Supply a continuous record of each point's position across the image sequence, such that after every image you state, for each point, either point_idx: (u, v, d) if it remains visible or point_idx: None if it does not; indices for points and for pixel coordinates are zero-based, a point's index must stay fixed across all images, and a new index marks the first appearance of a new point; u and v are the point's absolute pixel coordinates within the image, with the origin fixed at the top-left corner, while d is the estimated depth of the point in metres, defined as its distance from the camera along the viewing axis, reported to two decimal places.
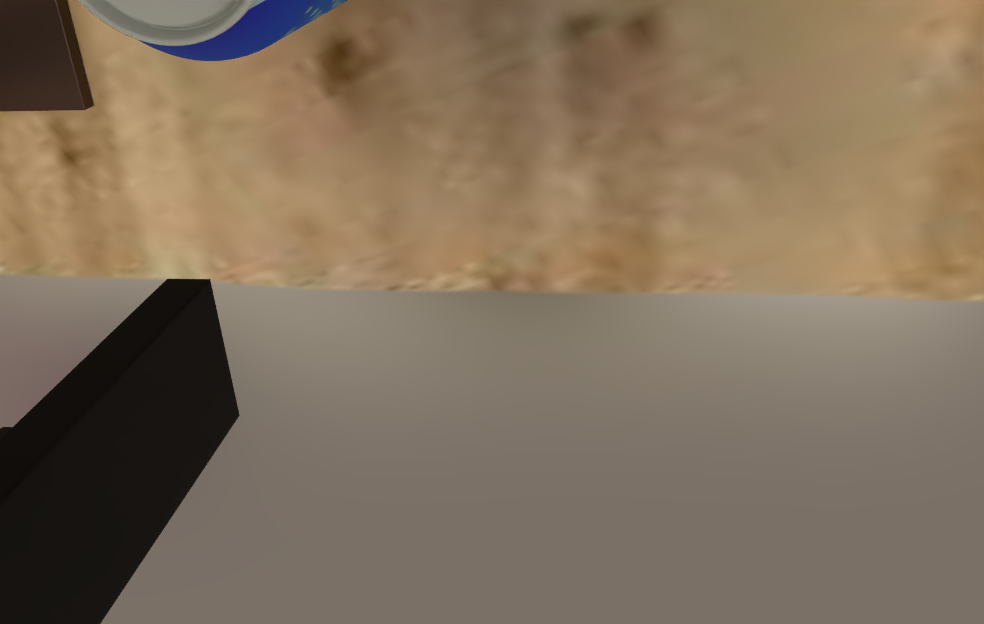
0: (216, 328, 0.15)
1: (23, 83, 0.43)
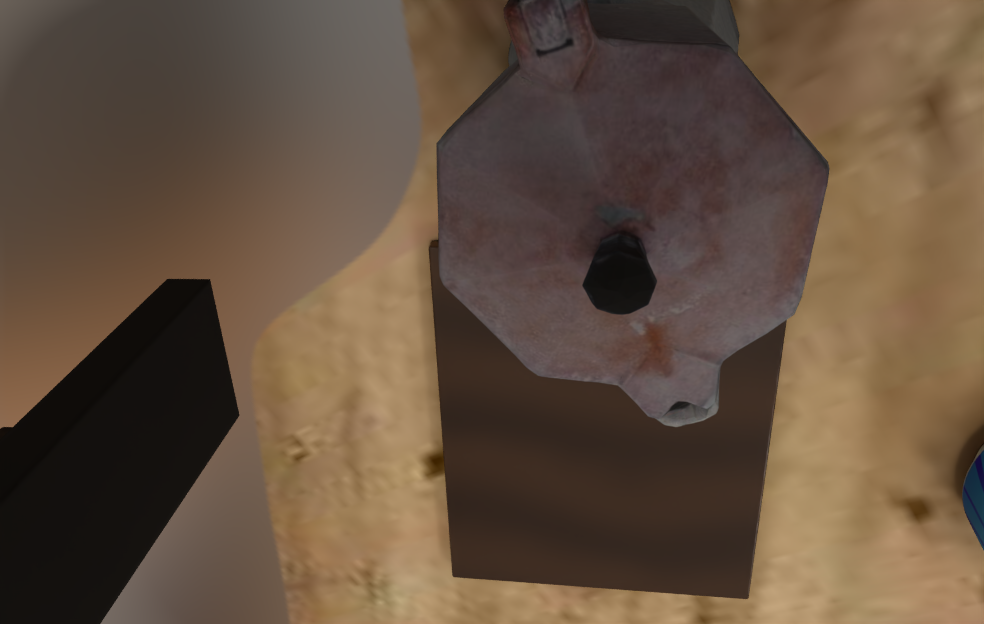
0: (216, 329, 0.15)
1: (695, 577, 0.47)
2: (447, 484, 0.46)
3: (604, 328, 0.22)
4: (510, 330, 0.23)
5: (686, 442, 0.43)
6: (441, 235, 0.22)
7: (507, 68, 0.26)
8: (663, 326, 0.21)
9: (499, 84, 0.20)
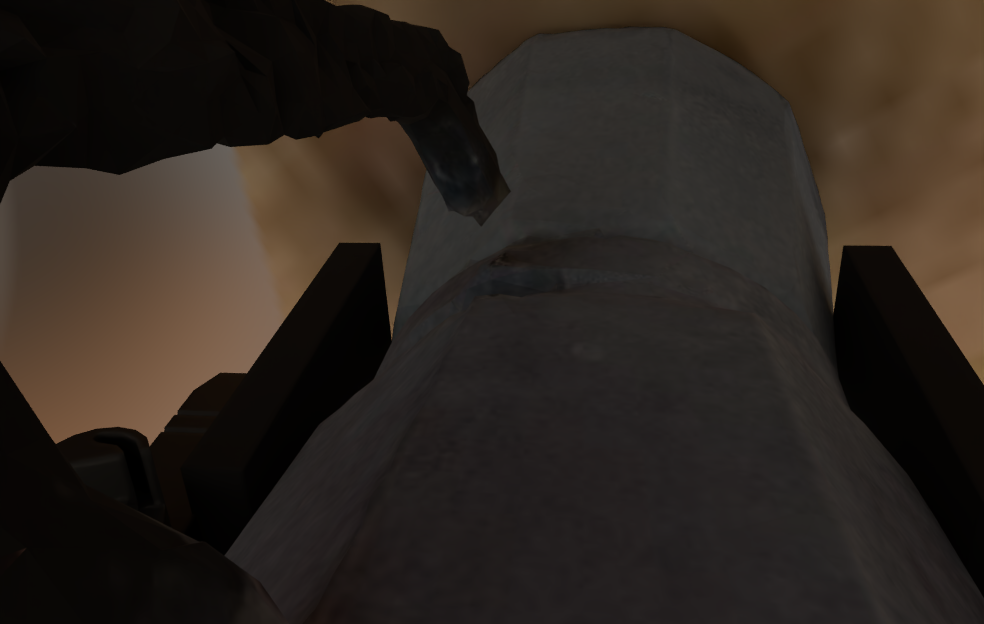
0: (383, 289, 0.16)
1: None
2: None
3: None
4: None
5: None
6: None
7: (316, 437, 0.11)
8: None
9: None
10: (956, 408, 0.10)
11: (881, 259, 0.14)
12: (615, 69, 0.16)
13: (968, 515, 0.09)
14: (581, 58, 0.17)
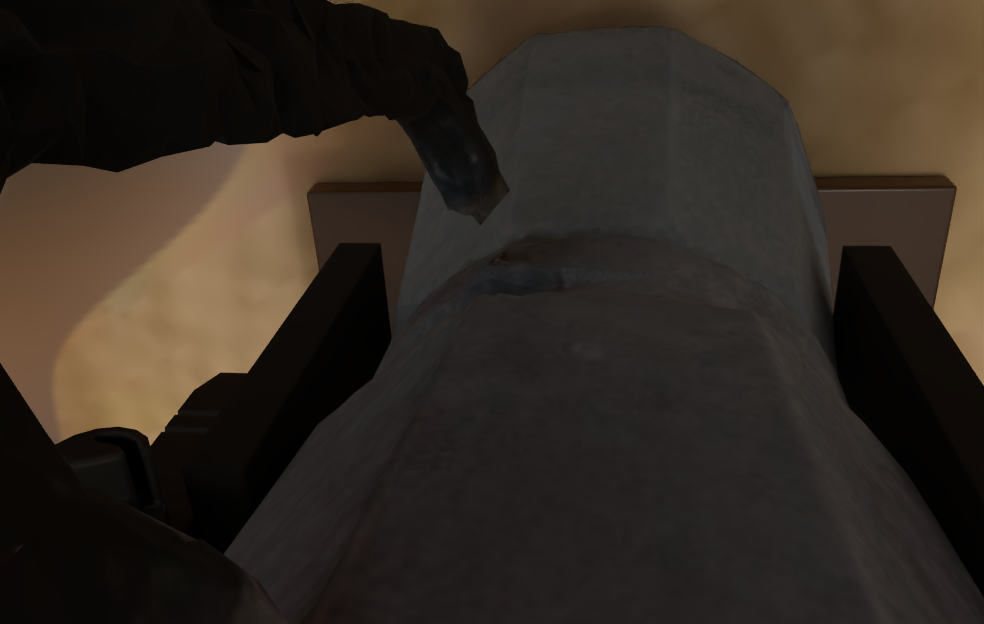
0: (383, 289, 0.16)
1: None
2: None
3: None
4: None
5: None
6: None
7: (315, 437, 0.11)
8: None
9: None
10: (956, 408, 0.10)
11: (881, 259, 0.14)
12: (615, 69, 0.16)
13: (967, 515, 0.09)
14: (581, 58, 0.17)
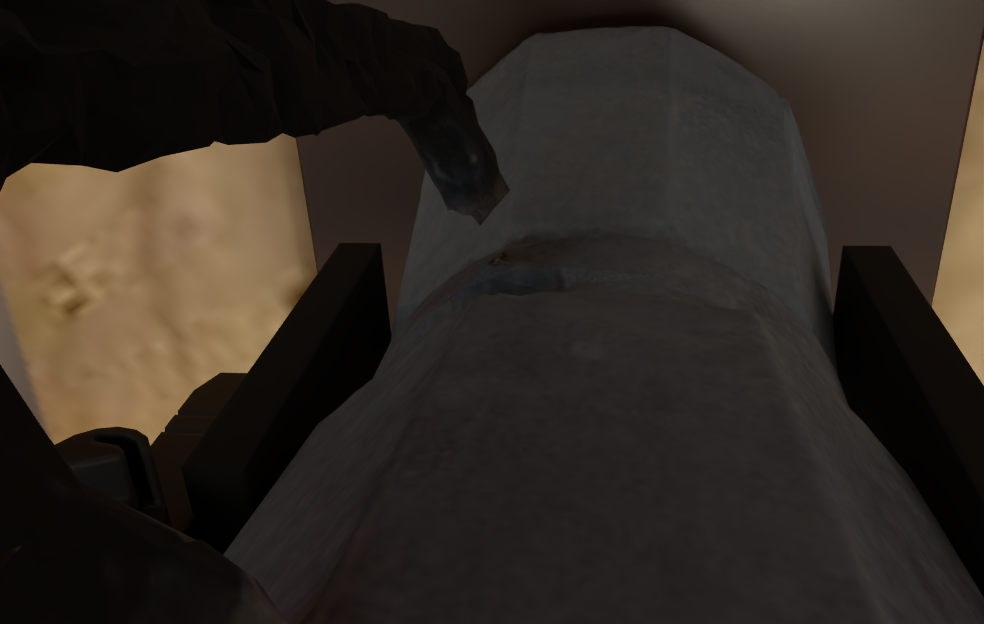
0: (384, 289, 0.16)
1: None
2: None
3: None
4: None
5: None
6: None
7: (315, 437, 0.11)
8: None
9: None
10: (955, 408, 0.10)
11: (880, 259, 0.14)
12: (614, 68, 0.16)
13: (967, 515, 0.09)
14: (581, 57, 0.17)
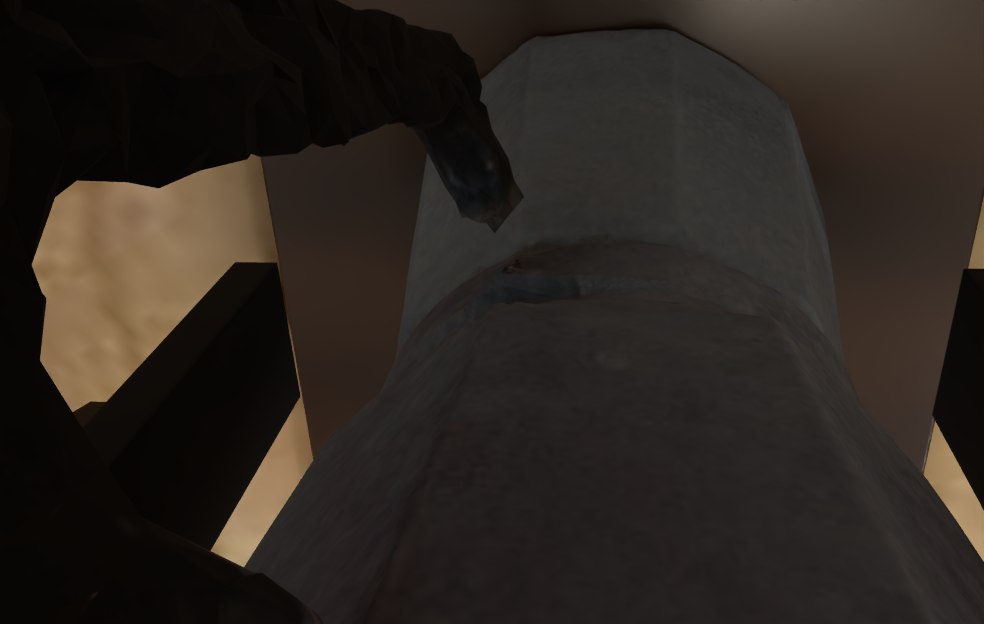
0: (281, 310, 0.15)
1: None
2: (295, 339, 0.23)
3: None
4: None
5: None
6: None
7: (328, 449, 0.11)
8: None
9: None
10: None
11: None
12: (616, 72, 0.16)
13: None
14: (581, 61, 0.17)
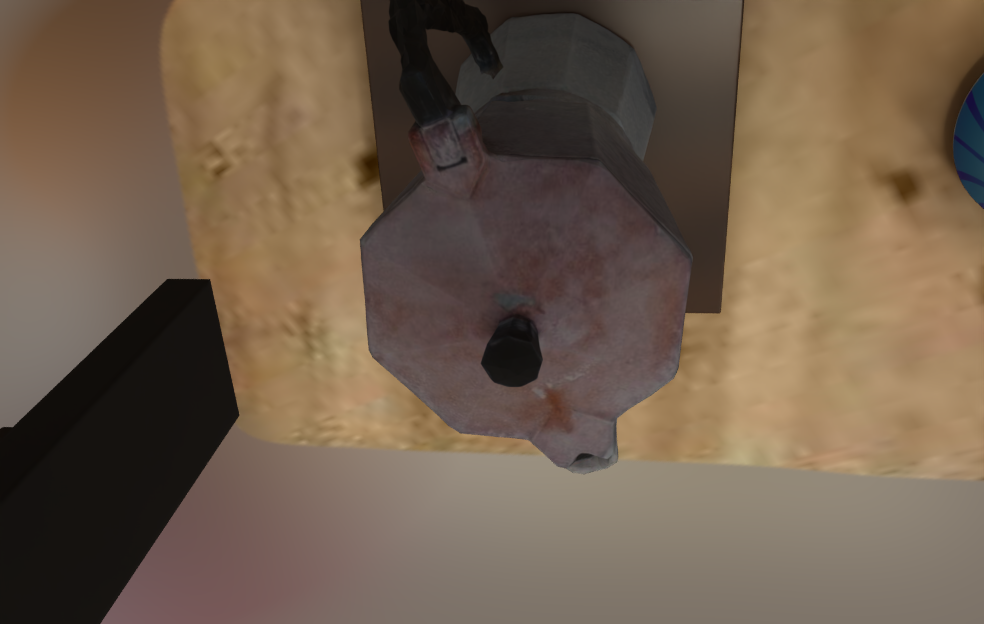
0: (216, 328, 0.15)
1: None
2: (382, 186, 0.42)
3: (510, 394, 0.25)
4: (432, 395, 0.26)
5: None
6: (368, 315, 0.25)
7: None
8: (561, 391, 0.25)
9: (410, 191, 0.23)
10: None
11: None
12: (548, 31, 0.35)
13: None
14: (533, 27, 0.36)
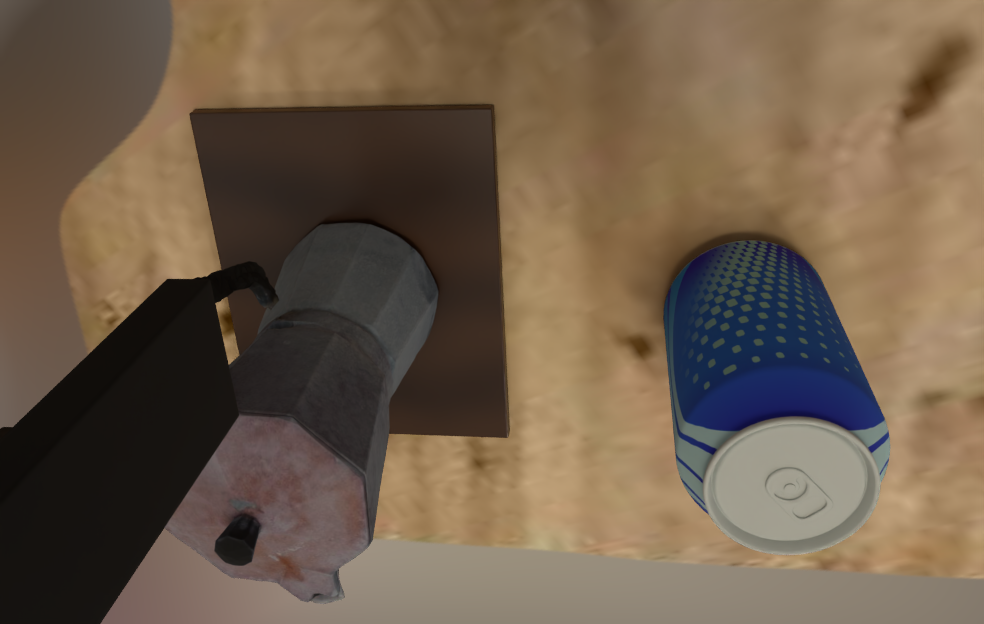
0: (216, 328, 0.15)
1: (460, 418, 0.53)
2: (237, 338, 0.53)
3: (255, 557, 0.36)
4: (206, 553, 0.37)
5: None
6: None
7: None
8: (288, 557, 0.36)
9: None
10: None
11: None
12: (340, 245, 0.46)
13: None
14: (331, 238, 0.46)
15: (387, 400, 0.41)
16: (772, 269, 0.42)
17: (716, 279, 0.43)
